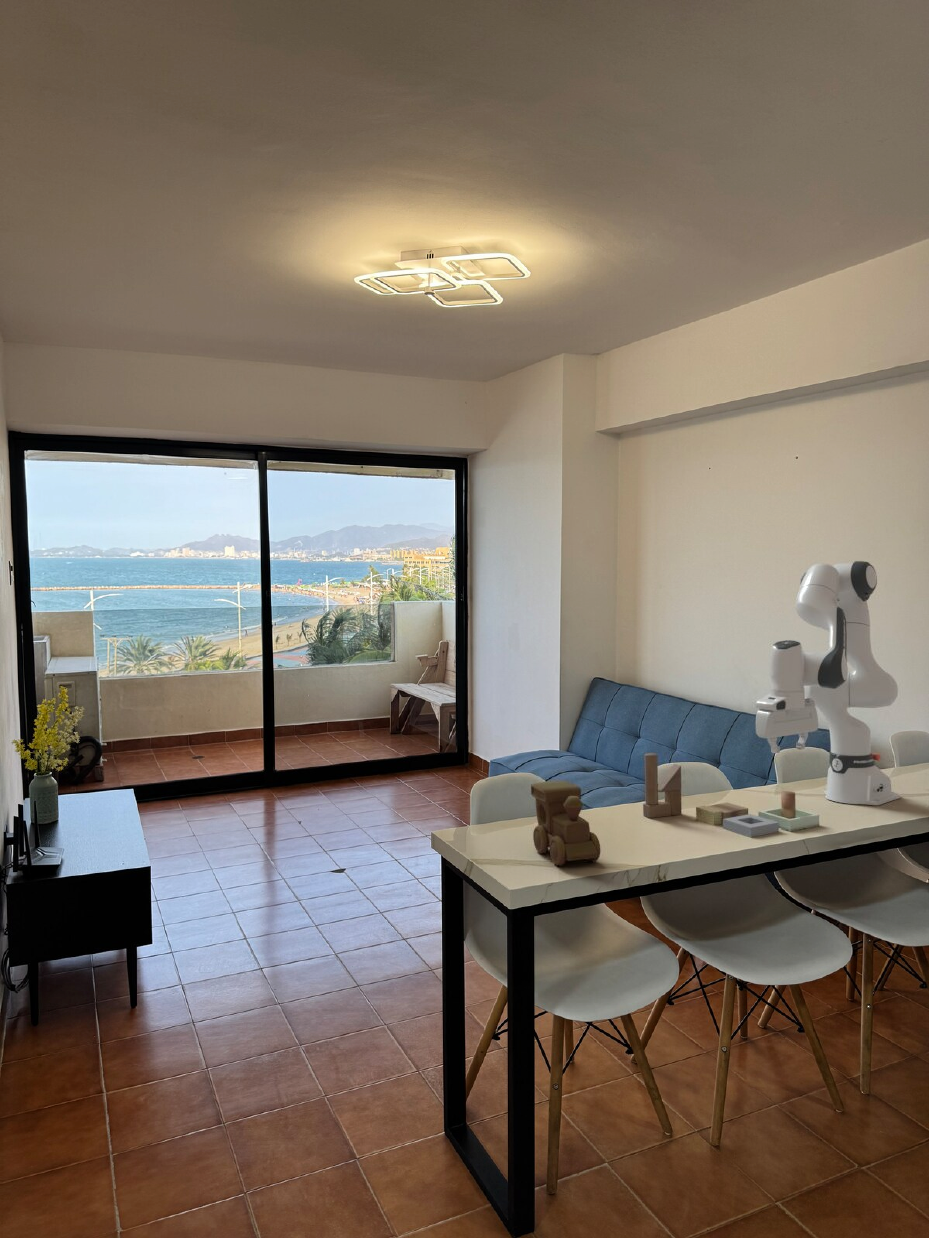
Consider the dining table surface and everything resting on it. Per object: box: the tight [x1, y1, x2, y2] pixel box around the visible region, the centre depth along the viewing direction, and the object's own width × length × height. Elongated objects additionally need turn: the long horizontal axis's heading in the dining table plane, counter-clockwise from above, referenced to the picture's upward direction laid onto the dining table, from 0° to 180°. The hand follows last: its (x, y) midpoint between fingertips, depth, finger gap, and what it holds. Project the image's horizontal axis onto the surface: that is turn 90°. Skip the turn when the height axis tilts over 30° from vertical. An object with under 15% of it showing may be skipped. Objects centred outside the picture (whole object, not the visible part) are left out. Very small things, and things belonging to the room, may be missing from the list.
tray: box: [757, 807, 820, 832], centre depth 233 cm, size 11×11×3 cm
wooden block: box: [642, 752, 682, 819], centre depth 245 cm, size 4×11×18 cm, turn 109°
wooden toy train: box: [530, 780, 601, 867], centre depth 209 cm, size 20×11×17 cm, turn 18°
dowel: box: [780, 790, 797, 819], centre depth 233 cm, size 4×4×8 cm
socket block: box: [722, 813, 779, 838], centre depth 228 cm, size 10×10×2 cm
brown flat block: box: [707, 802, 749, 825], centre depth 240 cm, size 9×8×4 cm
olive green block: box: [695, 805, 723, 826], centre depth 237 cm, size 3×7×4 cm, turn 27°
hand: (788, 750), depth 233 cm, fingers open, 8 cm apart
